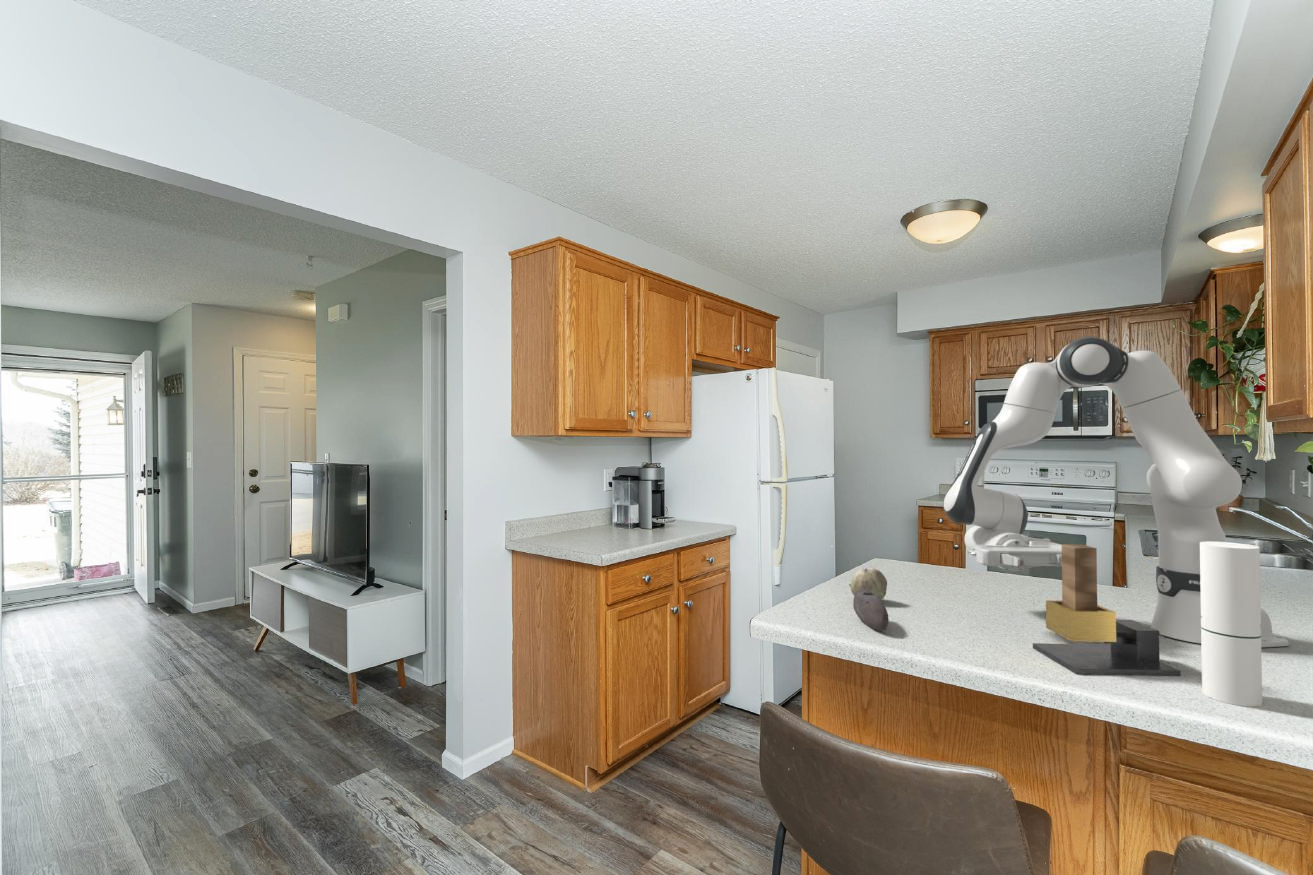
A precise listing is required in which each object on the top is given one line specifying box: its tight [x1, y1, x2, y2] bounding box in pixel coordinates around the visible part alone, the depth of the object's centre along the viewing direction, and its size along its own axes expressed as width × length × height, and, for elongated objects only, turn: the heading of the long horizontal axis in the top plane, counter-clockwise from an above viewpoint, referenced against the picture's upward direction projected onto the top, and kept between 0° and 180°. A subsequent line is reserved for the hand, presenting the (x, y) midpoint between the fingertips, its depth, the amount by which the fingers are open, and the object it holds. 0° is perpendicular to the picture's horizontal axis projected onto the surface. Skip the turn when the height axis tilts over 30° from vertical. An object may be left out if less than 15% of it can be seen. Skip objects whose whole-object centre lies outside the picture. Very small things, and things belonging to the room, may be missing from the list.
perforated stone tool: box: [852, 590, 889, 632], centre depth 139 cm, size 15×5×7 cm, turn 178°
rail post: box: [1061, 544, 1098, 611], centre depth 116 cm, size 4×4×16 cm
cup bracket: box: [1032, 600, 1182, 677], centre depth 115 cm, size 18×14×10 cm
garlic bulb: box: [848, 567, 888, 601], centre depth 160 cm, size 9×8×10 cm
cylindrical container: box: [1200, 541, 1263, 708], centre depth 99 cm, size 7×7×25 cm
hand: (1044, 562), depth 127 cm, fingers open, 8 cm apart
